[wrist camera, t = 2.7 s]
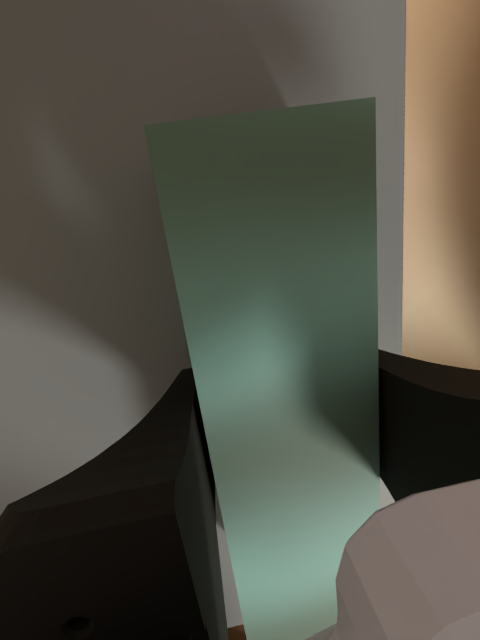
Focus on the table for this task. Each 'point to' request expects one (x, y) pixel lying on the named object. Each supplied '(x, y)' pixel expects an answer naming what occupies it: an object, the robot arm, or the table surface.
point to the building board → (148, 197)
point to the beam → (280, 338)
